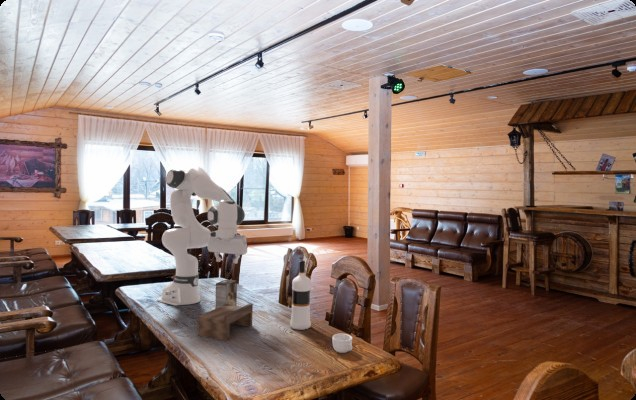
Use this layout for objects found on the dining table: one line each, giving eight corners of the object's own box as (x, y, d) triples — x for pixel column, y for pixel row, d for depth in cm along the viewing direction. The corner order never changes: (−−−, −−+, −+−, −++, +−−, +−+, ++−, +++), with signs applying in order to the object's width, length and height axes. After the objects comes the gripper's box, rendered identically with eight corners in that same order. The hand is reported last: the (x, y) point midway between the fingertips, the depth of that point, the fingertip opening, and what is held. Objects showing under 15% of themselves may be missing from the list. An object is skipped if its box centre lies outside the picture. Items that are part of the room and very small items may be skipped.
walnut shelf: (198, 335, 175) (198, 311, 174) (225, 321, 193) (225, 299, 193) (227, 341, 170) (227, 316, 169) (252, 325, 188) (252, 303, 188)
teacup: (328, 349, 165) (328, 335, 164) (343, 345, 169) (344, 332, 169) (343, 358, 156) (343, 344, 156) (359, 354, 160) (360, 340, 160)
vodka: (286, 324, 191) (288, 259, 189) (305, 322, 195) (307, 258, 193) (294, 331, 182) (296, 263, 181) (314, 329, 186) (316, 261, 185)
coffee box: (225, 311, 208) (226, 279, 207) (236, 313, 206) (237, 280, 205) (214, 316, 199) (215, 283, 199) (226, 318, 197) (227, 284, 196)
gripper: (250, 234, 200) (249, 263, 201) (213, 231, 207) (213, 259, 208) (243, 235, 194) (242, 265, 195) (205, 232, 201) (205, 261, 202)
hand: (227, 262), depth 201 cm, fingers open, 8 cm apart
